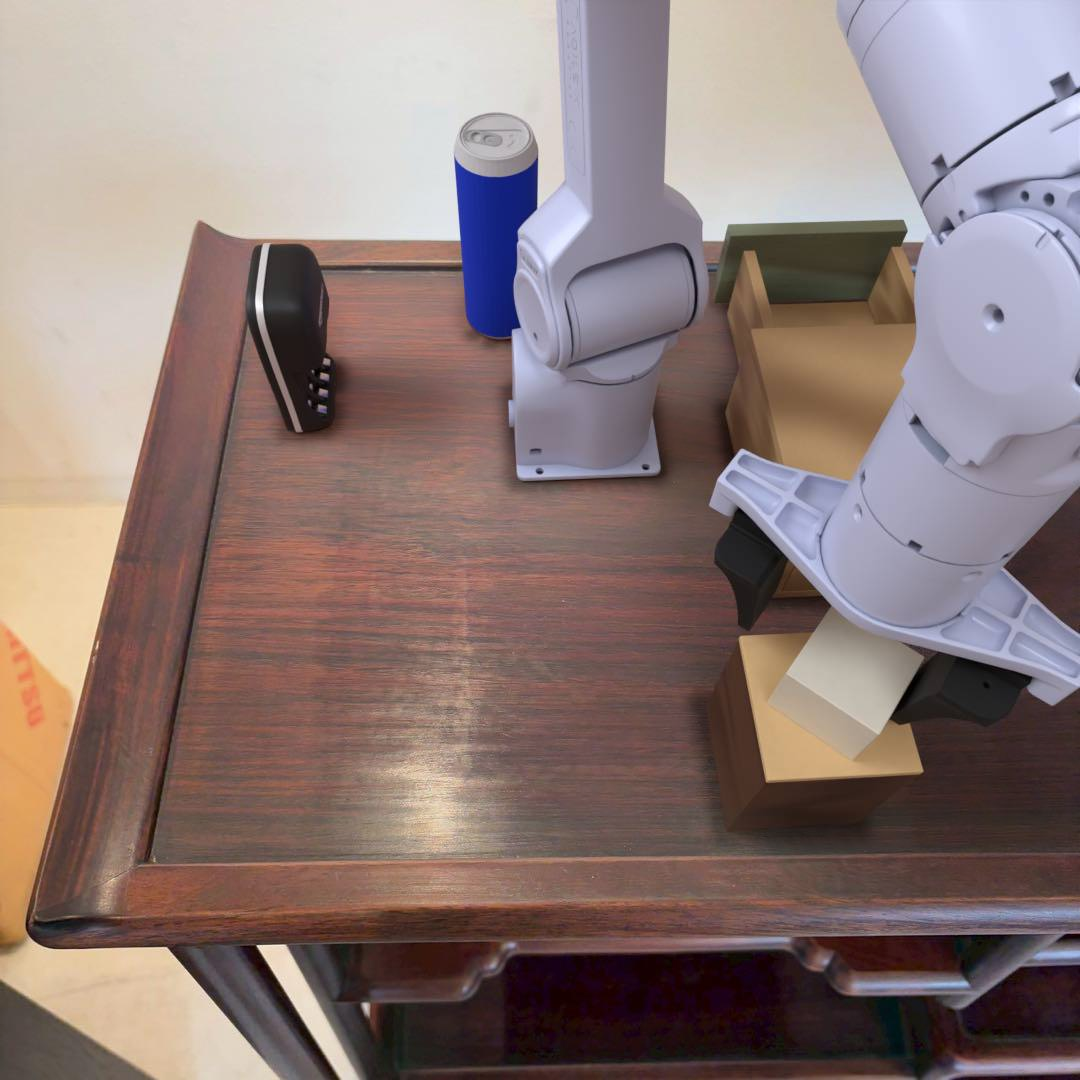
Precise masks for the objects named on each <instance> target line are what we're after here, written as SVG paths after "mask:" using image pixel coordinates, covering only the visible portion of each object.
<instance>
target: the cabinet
mask: <svg viewBox="0 0 1080 1080" xmlns="http://www.w3.org/2000/svg"><path fill="white" fill-rule="evenodd" d="M915 339H916V323H914V324H884V325H853V326H822V327H792V328H761V329H750V332H749V336H748V340H747V343H746V346H745V350H744V353H743V356H742V359H741V363H740V366H739V365H738V370H737V373H736V376H735V379H734V383H733V386H732V389H731V393H730V395H729V399H728V403H727V406H726V409H725V412H724V413H725V417H726V423H727V427H728V432H729V437H730V441H731V446H732V451H733V455H734V457H735V456H736V455H737V453H738V452H739V451H740V449H745V450H746V451H748V452H750V453H753V454H755V455H757V456H759V457H761V458H763V459H766V460H768V461H771V462H774V463H778V464H781V465H785V466H788V467H792V468H797V469H801V470H805V471H809V472H813V473H818V474H822V475H826V476H830V477H834V478H839V479H843V480H847V481H851V479H852V477H853V475H854V474H855V472H856V470H857V468H858V466H859V465H860V463H861V461H862V459H863V457H864V455H865V454H866V452H867V451H868V449H869V447H870V445H871V443H872V441H873V440H874V438H875V436H876V434H877V432H878V431H879V429H880V427H881V425H882V423H883V422H884V420H885V418H886V416H887V414H888V412H889V411H890V409H891V407H892V405H893V403H894V402H895V400H896V398H897V396H898V394H899V392H900V391H901V389H902V387H903V385H904V379H903V378H902V376H901V375H900V374H901V372H902V370H903V368H904V366H905V364H906V362H907V360H908V358H909V356H910V355H911V353H912V350H913V348H914V344H915ZM803 597H805V598H806V597H823V595H822V594H821V593H820V592H819V591H818V590H817V589H816V588H815V587H814V586H813V585H812V584H811V583H810V581H809V580H808V579H807V578H806V577H805V576H804V575H803V574H802V573H801V572H800V571H799V570H798V568H797V567H796V566H795V565H794V564H793V563H792V562H791V561H790V560H789V559H788V562H787V565H786V567H785V570H784V573H783V575H782V578H781V580H780V583H779V586H778V588H777V590H776V591H775V593H774V595H773V597H772V599H781V598H803Z"/></svg>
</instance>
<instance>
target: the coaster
mask: <svg viewBox="0 0 1080 1080" xmlns="http://www.w3.org/2000/svg"><path fill="white" fill-rule="evenodd" d="M813 632H814V631H812V632H810V631H809V632H791V633H771V634H750V635H749V634H747V635H740V636H739V637H738V640H739V644H740V649H741V654H742V660H743V665H744V670H745V675H746V680H747V686H748V691H749V696H750V701H751V706H752V712H753V717H754V722H755V727H756V732H757V738H758V743H759V748H760V753H761V758H762V764H763V769H764V774H765V779H766V783H773V782H791V781H809V780H827V779H845V778H863V777H881V776H899V775H917V774H920V775H921V774H923V773H924V768H923V764H922V762H921V761H922V760H921V758H920V753H919V750H918V746H917V744H916V741H915V737H914V733H913V730H912V726H911V723H907V724H903V725H898V724H896V723H895V722H893V721H892V720H890V719H889V720H888V722H887V723H886V725H885V727H884V729H883V730H882V732H881V734H880V735H879V736H878V737H877V738H876V739H875V740H874V741H873V742H872V743H871V744H869V745H868V746H867V747H866V748H865V749H864V750H863V751H862V752H861V753H860V754H859V755H858V756H857V757H856V758H855V759H854V760H853V761H852V760H850V759H848V758H847V757H845V756H844V755H842V754H841V753H839V752H838V751H836V750H835V749H833V748H832V747H831V746H829V745H828V744H826V743H825V742H823V741H822V740H820V739H819V738H817V737H816V736H814V735H813V734H811V733H810V732H808V731H807V730H805V729H804V728H802V727H801V726H799V725H798V724H797V723H795V722H794V721H792V720H791V719H789V718H788V717H786V716H785V715H783V714H782V713H780V712H779V711H777V710H776V709H774V708H773V707H771V706H770V705H768V704H767V701H768V700H769V698H770V697H771V695H772V694H773V692H774V691H775V689H776V688H777V686H778V685H779V683H780V682H781V680H782V678H783V677H784V675H785V674H786V672H787V671H788V669H789V668H790V666H791V665H792V663H793V662H794V661H795V659H796V658H797V656H798V655H799V653H800V652H801V650H802V649H803V647H804V646H805V644H806V643H807V641H808V640H809V638H810V637H811V635H812V634H813Z"/></svg>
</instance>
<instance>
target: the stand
mask: <svg viewBox="0 0 1080 1080" xmlns="http://www.w3.org/2000/svg"><path fill="white" fill-rule="evenodd" d="M705 710H706V715H707V721H708V729H709V734H710V740H711V746H712V747H711V748H712V753H713V759H714V762H715V763H714V764H715V765H714V766H715V770H716V777H717V783H718V789H719V794H720V801H721V806H722V812H723V820H724V825H725V830H726V831H727V832H733V831H734V832H735V831H750V830H751V831H752V830H766V829H767V830H768V829H769V830H770V829H784V828H785V829H786V828H801V827H802V828H803V827H804V828H805V827H820V826H836V825H838V826H839V825H854V824H857V823H859V821H861V820H862V819H864V818H865V817H866V816H867V815H869V814H871V813H872V812H873V811H874V810H875V809H877V808H878V807H879V806H881V804H884V802H886V801H887V800H889V799H890V798H891V797H893V796H894V795H895V794H896V793H898V792H899V791H901V789H903V788H905V786H907V785H908V784H910V783H911V782H912V781H914V780H915V779H916V778H917V777H918V776H920V775H921V774H917V775H899V776H881V777H863V778H845V779H827V780H809V781H791V782H773V783H766V779H765V774H764V769H763V764H762V758H761V753H760V748H759V743H758V738H757V732H756V727H755V722H754V717H753V712H752V706H751V701H750V696H749V691H748V686H747V680H746V675H745V670H744V665H743V660H742V654H741V649H740V644H739V639H738V640H737V642H736V644H735V646H734V647H733V650H732V652H731V654H730V656H729V658H728V660H727V662H726V664H725V666H724V668H723V670H722V672H721V674H720V676H719V678H718V680H717V682H716V684H715V687H714V689H713V690H712V692H711V695H710V696H709V699H708V700H707V703H706V704H705Z"/></svg>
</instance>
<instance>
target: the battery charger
mask: <svg viewBox="0 0 1080 1080" xmlns="http://www.w3.org/2000/svg"><path fill="white" fill-rule="evenodd" d="M247 277H248V278H247V284H246V293H245V317H246V321H247V325H248V329H249V332H250V335H251V338H252V341H253V343H254V347H255V349H256V351H257V355H258V358H259V360H260V363H261V365H262V368H263V370H264V371H263V372H264V374H265V376H266V379H267V381H268V383H269V386H270V388H271V391H272V393H273V396H274V399H275V402H276V404H277V406H278V409H279V411H280V414H281V417H282V420H283V423H284V426H285V428H286V430H287V431H288V432H295V433H303V432H307V431H316V430H321V429H323V428H326V427H328V426H329V425H330V424H331V423H332V422H333V418H334V413H335V412H334V410H335V409H334V408H335V397H336V381H337V365H336V361H335V359H334V358H332V357H331V355H329V354H328V353H327V342H328V320H329V315H330V297H329V292H328V288H327V284H326V282H325V279H324V277H323V272H322V269H321V267H320V264H319V261H318V259H317V257H316V254H315V253H314V251H313V250H312V249H311V248H310V247H308V246H306V245H304V244H302V243H273V242H263V244H257V245H255V246H254V248H252V251H251V257H250V264H249V271H248V275H247Z"/></svg>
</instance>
